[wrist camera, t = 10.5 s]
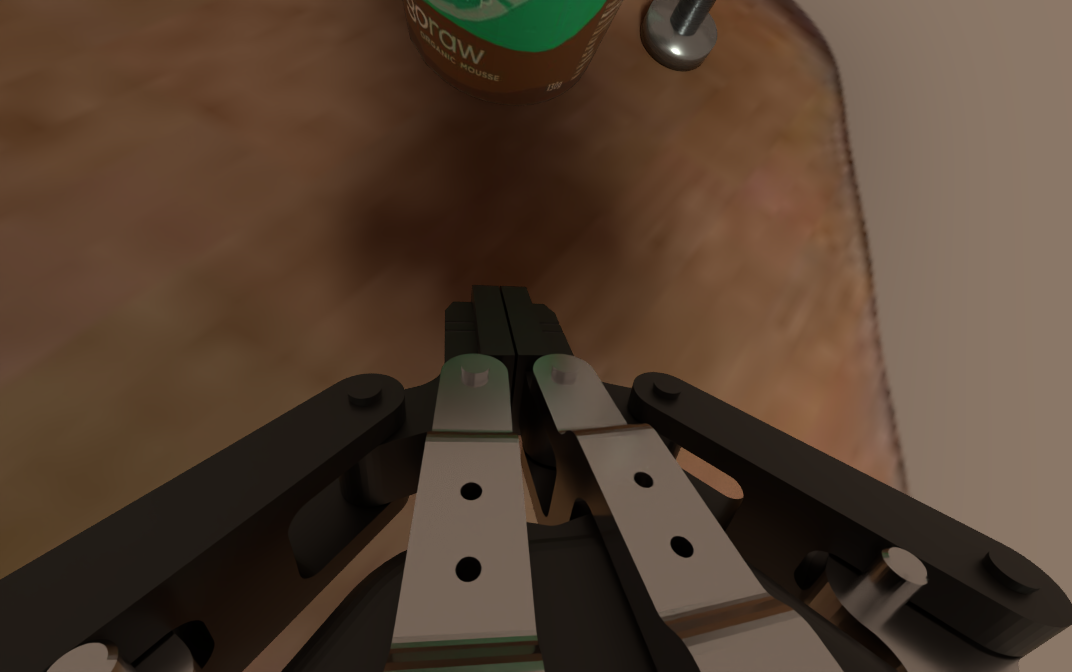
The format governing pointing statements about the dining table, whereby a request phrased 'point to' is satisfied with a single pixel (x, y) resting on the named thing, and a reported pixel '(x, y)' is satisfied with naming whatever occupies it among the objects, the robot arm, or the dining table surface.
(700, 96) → the dining table surface
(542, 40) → the food container
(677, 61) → the post
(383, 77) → the dining table surface
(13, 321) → the dining table surface
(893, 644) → the robot arm
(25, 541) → the dining table surface
